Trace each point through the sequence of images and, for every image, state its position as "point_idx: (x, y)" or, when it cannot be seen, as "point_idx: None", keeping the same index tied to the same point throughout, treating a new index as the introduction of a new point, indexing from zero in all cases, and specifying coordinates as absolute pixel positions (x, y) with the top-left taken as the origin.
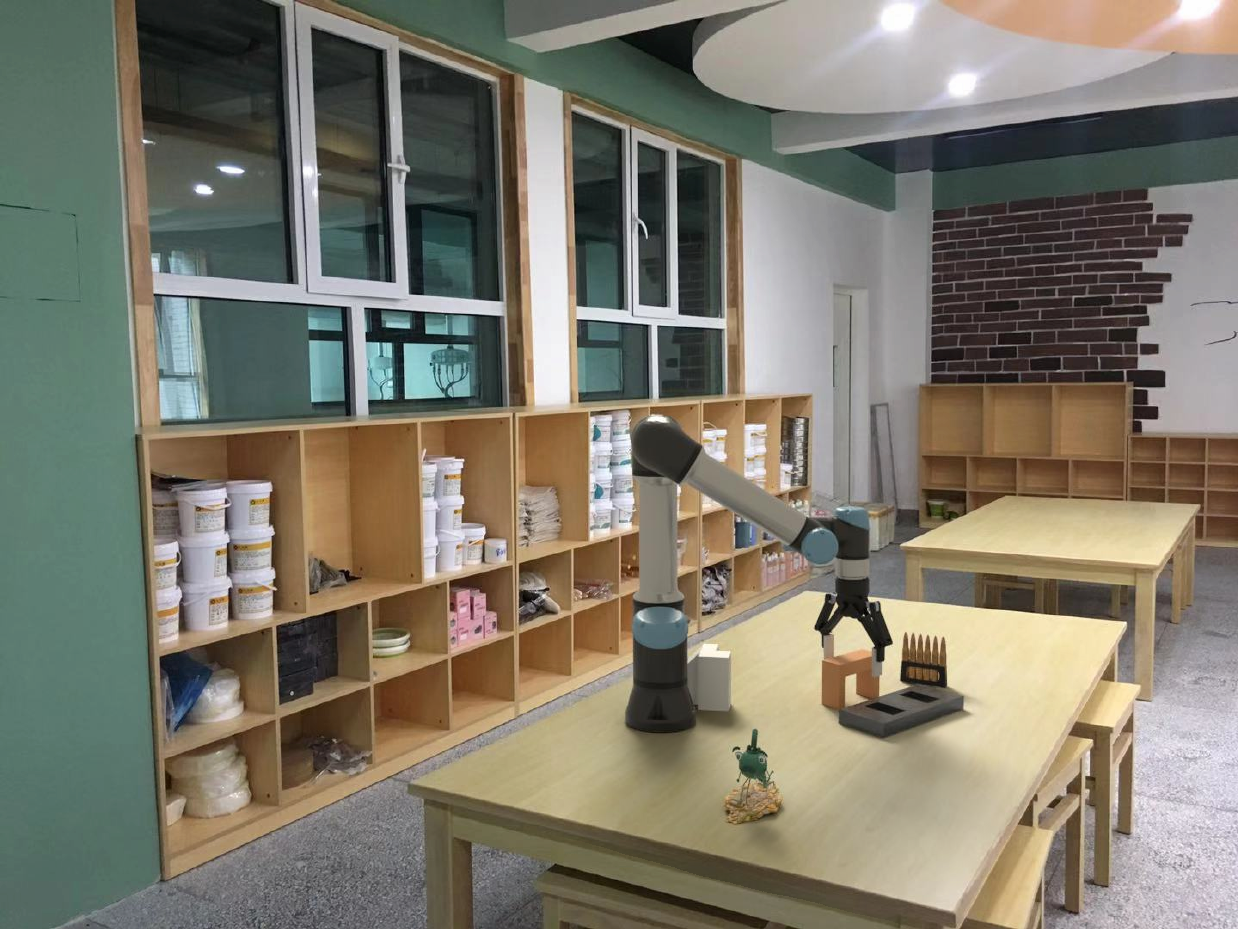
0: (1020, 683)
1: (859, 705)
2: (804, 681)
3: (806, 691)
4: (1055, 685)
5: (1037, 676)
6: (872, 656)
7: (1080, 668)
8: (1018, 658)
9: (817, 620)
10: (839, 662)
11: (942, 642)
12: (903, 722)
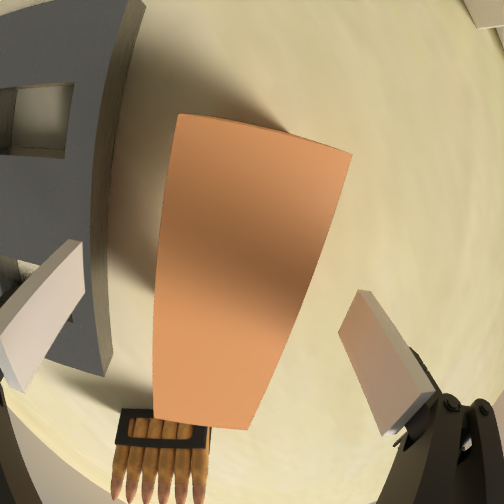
0: (81, 443)
1: (89, 76)
2: (406, 296)
3: (381, 225)
4: (58, 443)
5: (93, 461)
6: (23, 296)
7: (93, 477)
8: (154, 489)
9: (499, 447)
10: (215, 177)
11: (113, 489)
12: None
